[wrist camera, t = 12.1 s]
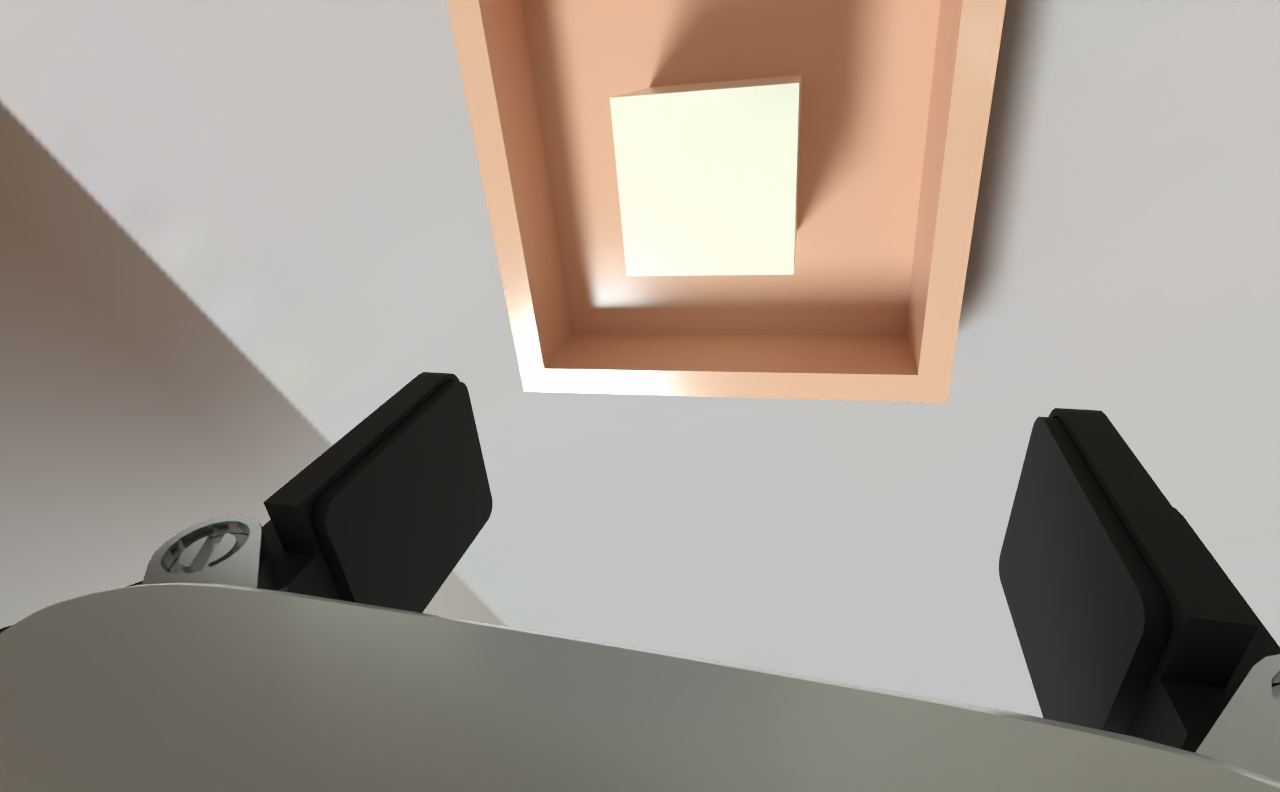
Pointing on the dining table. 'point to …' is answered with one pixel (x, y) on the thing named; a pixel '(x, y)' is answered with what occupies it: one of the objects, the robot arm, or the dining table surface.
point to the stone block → (709, 177)
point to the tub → (827, 192)
